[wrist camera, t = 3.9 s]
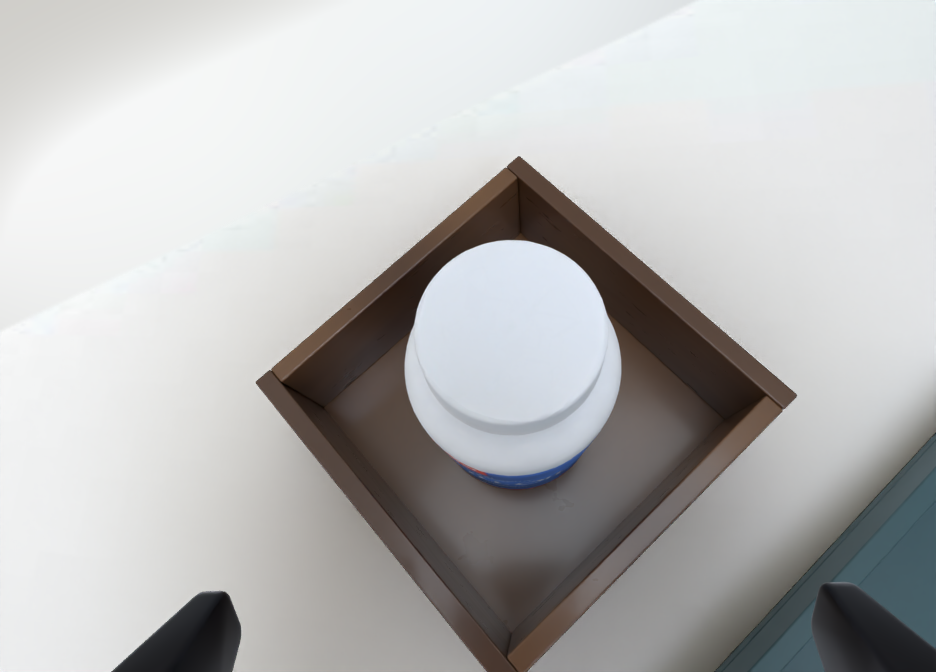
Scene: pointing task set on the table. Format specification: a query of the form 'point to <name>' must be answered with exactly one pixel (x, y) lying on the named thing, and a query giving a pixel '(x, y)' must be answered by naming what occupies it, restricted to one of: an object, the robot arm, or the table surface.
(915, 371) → the table surface
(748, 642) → the tray
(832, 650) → the robot arm
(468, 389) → the pill bottle
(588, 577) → the open box
